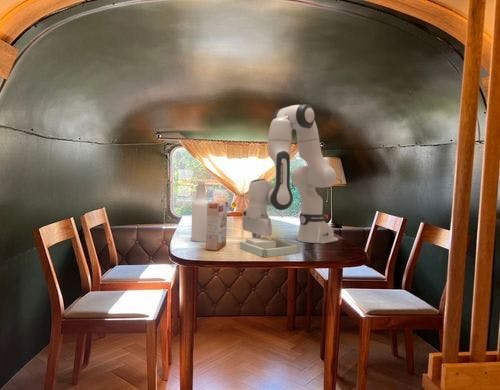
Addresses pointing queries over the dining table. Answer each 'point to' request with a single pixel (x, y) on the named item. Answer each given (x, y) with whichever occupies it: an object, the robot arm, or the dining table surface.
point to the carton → (262, 242)
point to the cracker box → (216, 225)
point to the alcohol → (199, 214)
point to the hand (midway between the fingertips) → (256, 242)
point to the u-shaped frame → (272, 249)
